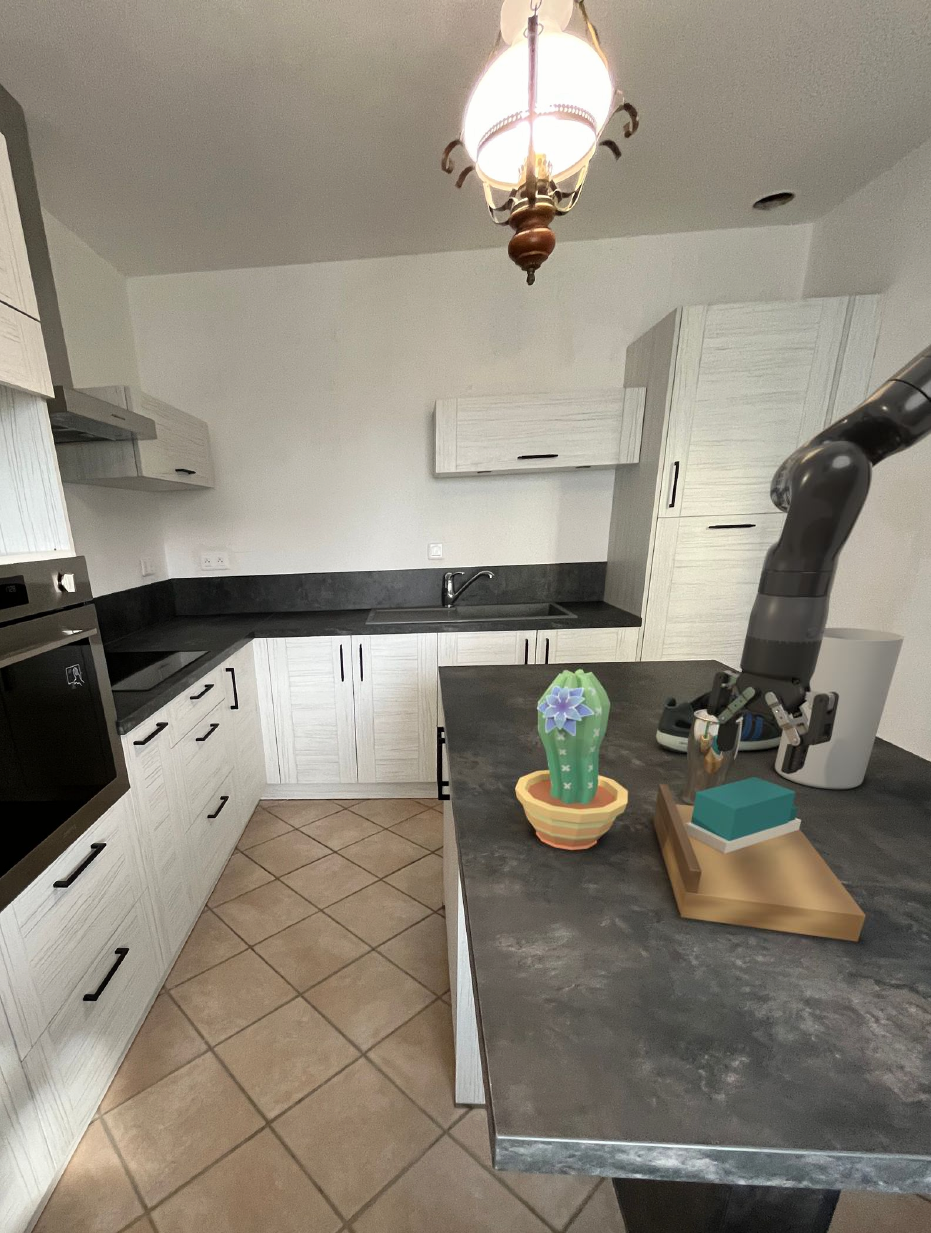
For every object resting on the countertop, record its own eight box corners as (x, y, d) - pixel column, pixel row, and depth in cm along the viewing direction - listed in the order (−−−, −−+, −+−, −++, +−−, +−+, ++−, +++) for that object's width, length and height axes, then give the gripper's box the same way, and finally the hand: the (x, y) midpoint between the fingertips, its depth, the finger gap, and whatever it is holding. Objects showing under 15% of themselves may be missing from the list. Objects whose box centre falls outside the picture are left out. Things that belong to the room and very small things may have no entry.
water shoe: (808, 745, 118) (822, 688, 114) (683, 763, 112) (693, 704, 108) (763, 729, 128) (775, 677, 124) (646, 745, 121) (653, 690, 117)
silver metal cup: (706, 816, 92) (723, 725, 86) (668, 799, 98) (682, 712, 92) (736, 807, 94) (755, 717, 89) (697, 791, 100) (713, 706, 95)
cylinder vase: (818, 795, 97) (858, 643, 88) (757, 767, 109) (786, 630, 100) (881, 786, 99) (925, 637, 91) (814, 760, 111) (848, 625, 102)
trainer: (756, 811, 84) (764, 773, 82) (799, 830, 79) (809, 789, 77) (683, 833, 79) (691, 792, 77) (724, 853, 74) (733, 810, 72)
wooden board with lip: (782, 839, 85) (793, 794, 82) (856, 946, 63) (873, 891, 61) (652, 826, 90) (659, 784, 87) (680, 922, 68) (690, 869, 66)
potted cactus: (492, 827, 91) (498, 667, 82) (573, 807, 96) (587, 655, 87) (557, 877, 78) (574, 693, 69) (647, 851, 83) (674, 676, 74)
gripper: (871, 639, 65) (834, 775, 71) (749, 622, 77) (725, 739, 83) (827, 646, 62) (792, 786, 68) (707, 627, 75) (686, 748, 80)
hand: (755, 760), depth 76 cm, fingers open, 8 cm apart
